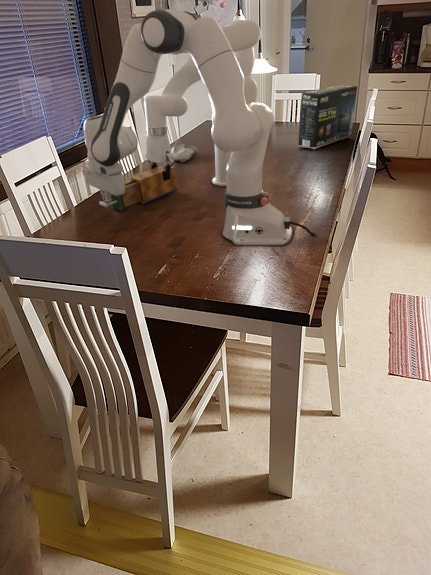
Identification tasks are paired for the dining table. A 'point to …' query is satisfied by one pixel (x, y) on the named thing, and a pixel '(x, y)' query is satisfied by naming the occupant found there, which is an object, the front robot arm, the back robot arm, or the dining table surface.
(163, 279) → the dining table surface
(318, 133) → the router box
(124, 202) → the drawer
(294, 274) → the dining table surface
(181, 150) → the fossil
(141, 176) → the cabinet
